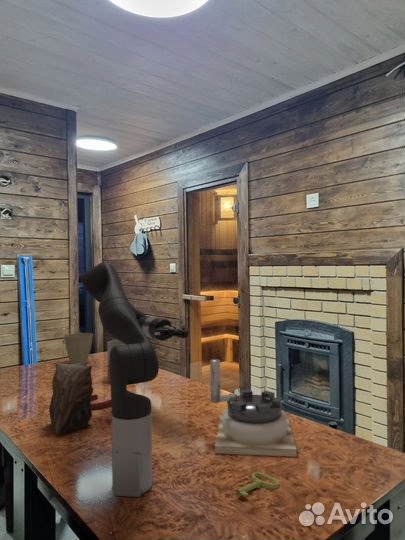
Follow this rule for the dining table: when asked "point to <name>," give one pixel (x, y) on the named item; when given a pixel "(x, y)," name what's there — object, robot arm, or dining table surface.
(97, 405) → the pliers
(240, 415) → the cap with crank handle
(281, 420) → the cap housing
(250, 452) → the base board
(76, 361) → the plant pot
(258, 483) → the key
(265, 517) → the dining table surface
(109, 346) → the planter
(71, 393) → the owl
